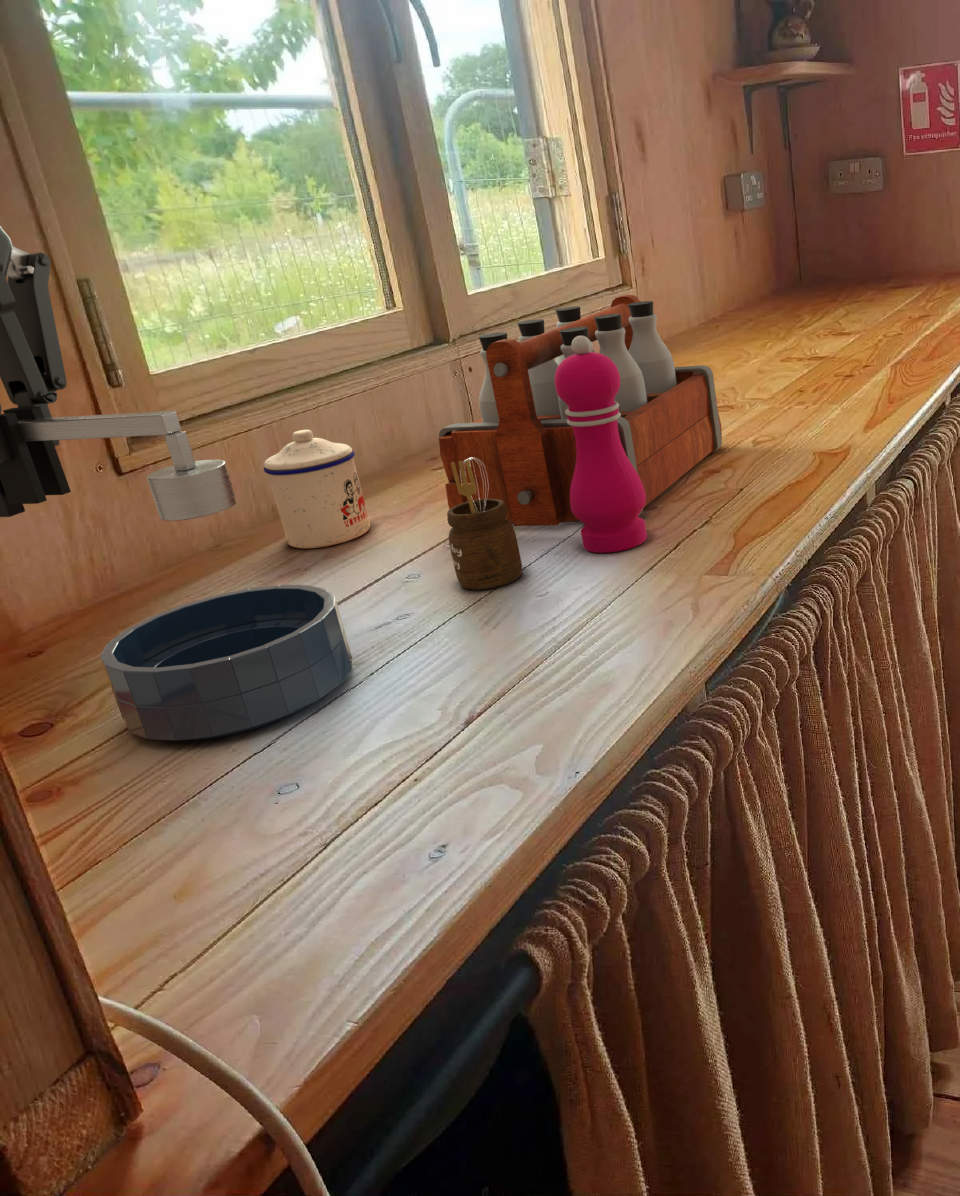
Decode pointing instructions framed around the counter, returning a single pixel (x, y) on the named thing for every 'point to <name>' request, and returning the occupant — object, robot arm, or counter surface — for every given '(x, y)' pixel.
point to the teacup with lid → (317, 492)
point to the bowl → (228, 662)
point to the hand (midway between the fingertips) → (40, 497)
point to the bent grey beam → (173, 488)
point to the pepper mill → (599, 453)
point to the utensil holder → (481, 538)
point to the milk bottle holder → (539, 423)
